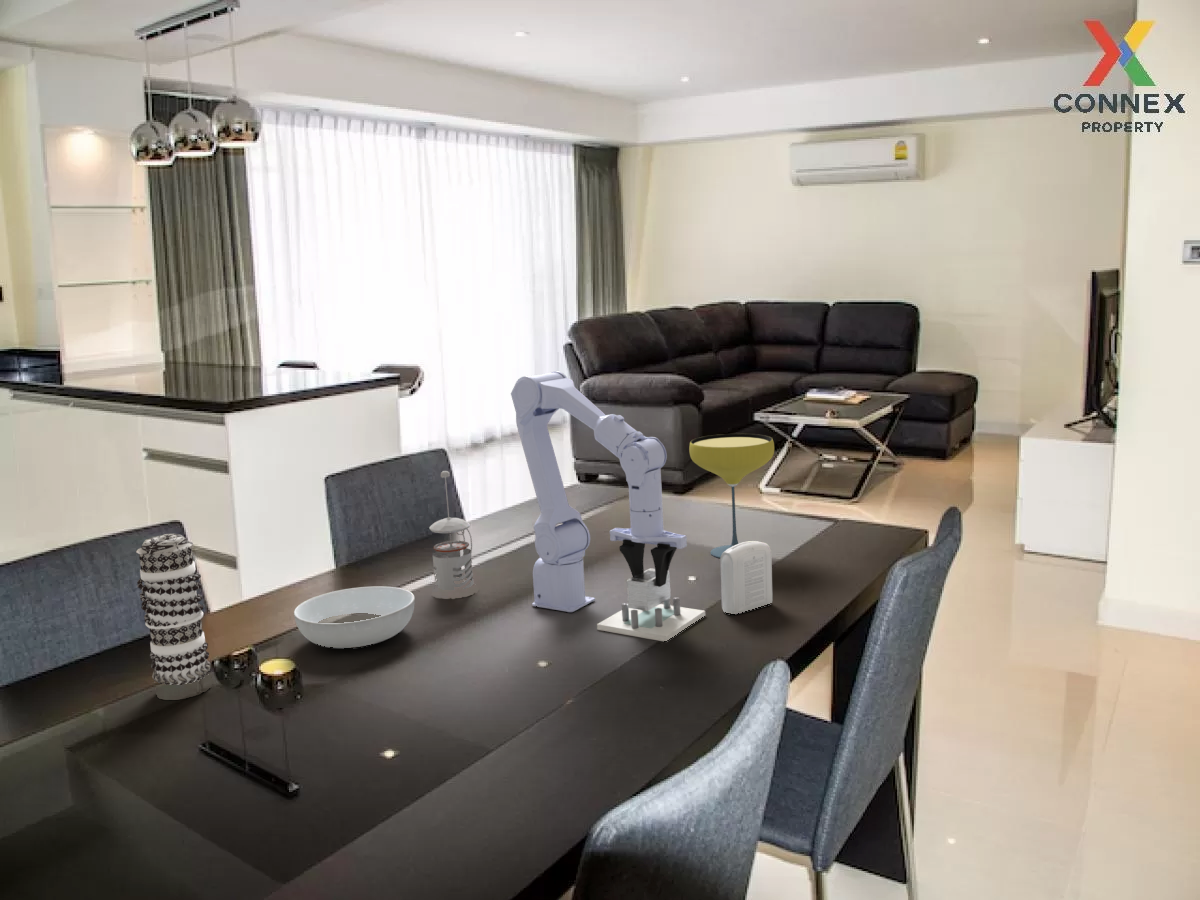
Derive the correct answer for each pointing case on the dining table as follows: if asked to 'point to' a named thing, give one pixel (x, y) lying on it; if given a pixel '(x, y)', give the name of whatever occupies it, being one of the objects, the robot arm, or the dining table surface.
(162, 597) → the decorative candle
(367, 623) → the serving bowl
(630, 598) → the block
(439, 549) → the french press
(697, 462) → the cocktail glass
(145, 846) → the dining table surface
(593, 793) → the dining table surface
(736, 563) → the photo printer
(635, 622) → the dock
